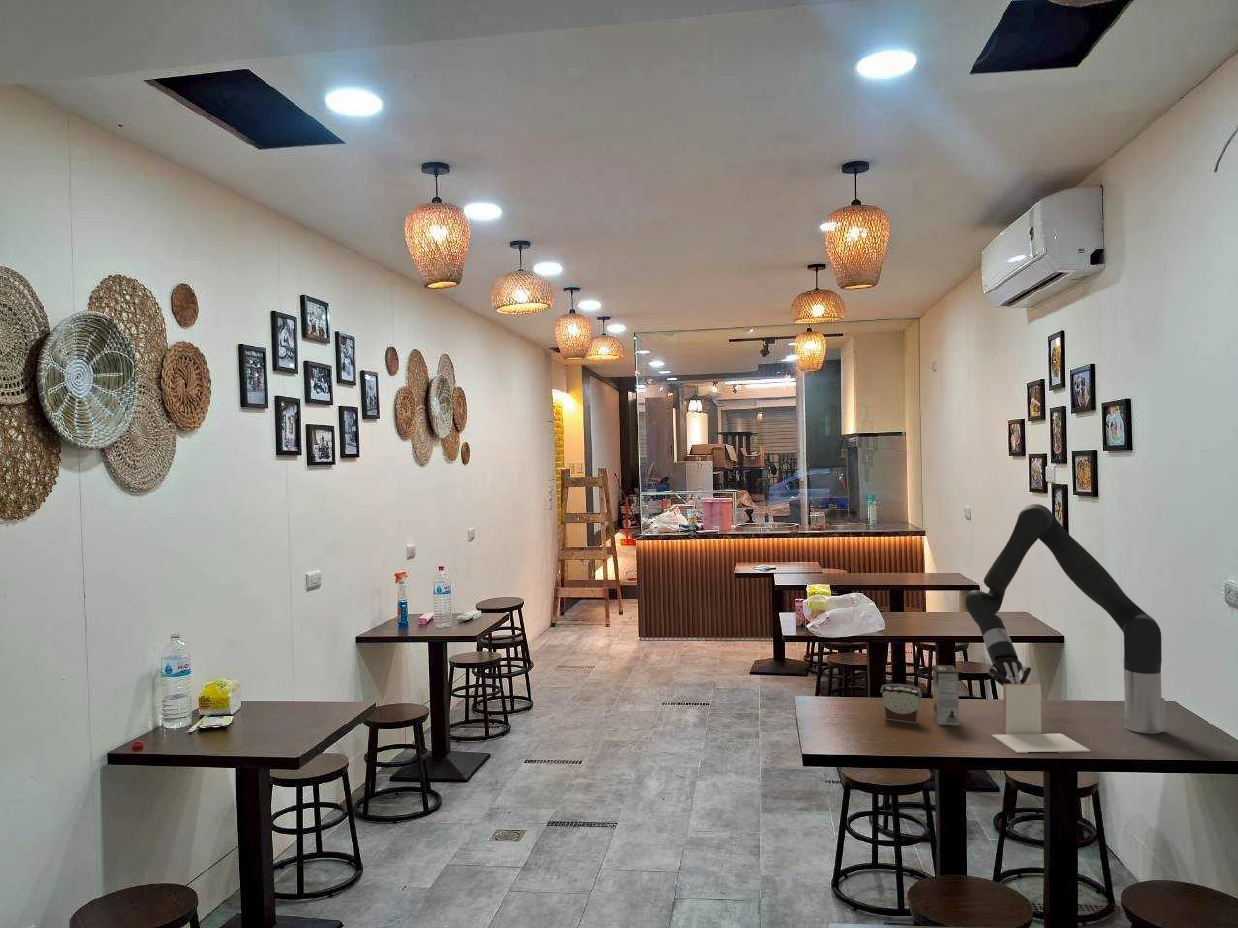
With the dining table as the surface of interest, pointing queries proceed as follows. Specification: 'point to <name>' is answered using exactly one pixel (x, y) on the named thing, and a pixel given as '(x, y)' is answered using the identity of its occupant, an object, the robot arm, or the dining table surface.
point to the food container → (901, 702)
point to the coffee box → (945, 695)
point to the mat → (1040, 743)
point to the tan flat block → (1022, 708)
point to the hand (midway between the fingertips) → (1019, 697)
